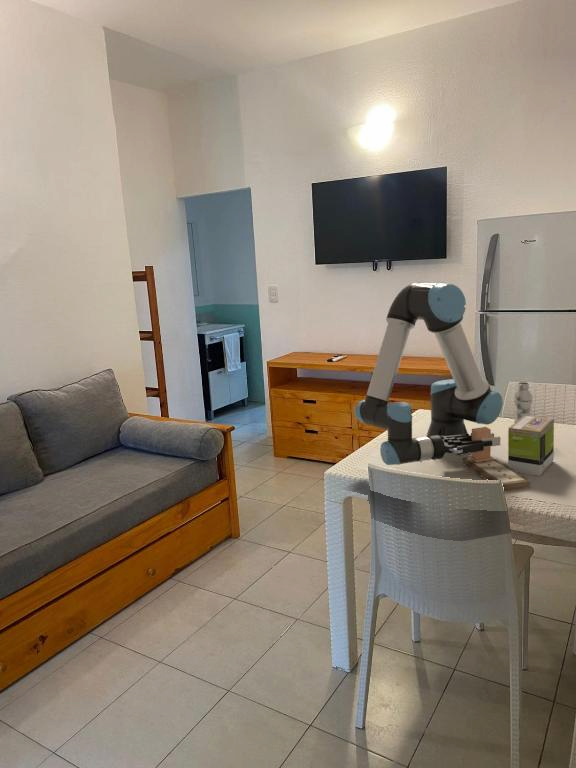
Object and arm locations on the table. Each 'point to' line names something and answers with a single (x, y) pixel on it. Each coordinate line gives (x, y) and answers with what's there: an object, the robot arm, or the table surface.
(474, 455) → the tan upright block
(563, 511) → the table surface
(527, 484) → the board
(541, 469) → the tea box
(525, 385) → the plastic bottle
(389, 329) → the robot arm
